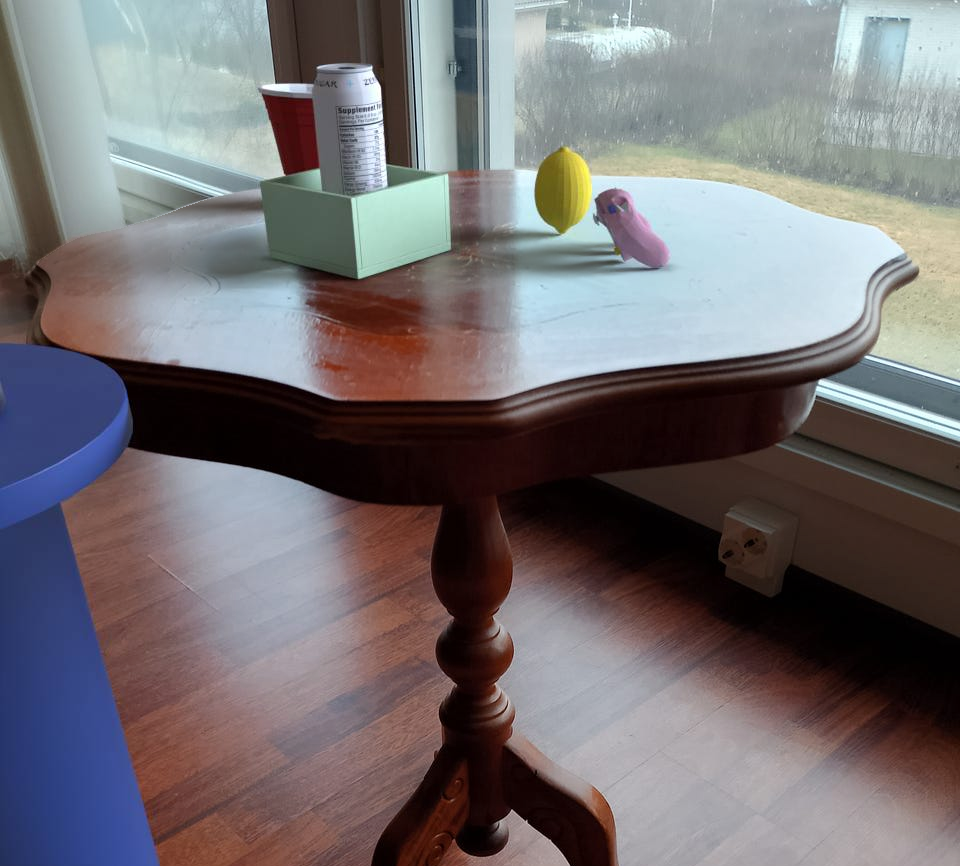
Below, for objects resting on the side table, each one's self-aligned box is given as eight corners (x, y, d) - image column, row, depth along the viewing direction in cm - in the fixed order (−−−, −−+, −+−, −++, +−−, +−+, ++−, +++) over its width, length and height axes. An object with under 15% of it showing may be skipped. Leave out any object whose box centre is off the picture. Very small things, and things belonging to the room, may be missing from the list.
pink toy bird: (610, 259, 103) (580, 192, 100) (654, 235, 102) (624, 166, 99) (628, 289, 95) (595, 217, 92) (675, 263, 94) (644, 189, 91)
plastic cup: (388, 205, 118) (379, 83, 112) (300, 220, 113) (285, 94, 107) (341, 189, 126) (330, 74, 119) (256, 202, 121) (240, 84, 114)
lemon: (601, 232, 106) (604, 144, 102) (567, 244, 103) (568, 154, 98) (557, 224, 109) (558, 139, 105) (522, 235, 106) (522, 148, 101)
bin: (358, 279, 95) (350, 198, 91) (269, 257, 101) (259, 181, 97) (451, 250, 102) (448, 173, 98) (363, 231, 109) (357, 159, 105)
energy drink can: (373, 233, 105) (359, 60, 96) (403, 246, 100) (391, 66, 92) (317, 243, 102) (298, 66, 93) (345, 257, 98) (328, 73, 89)
